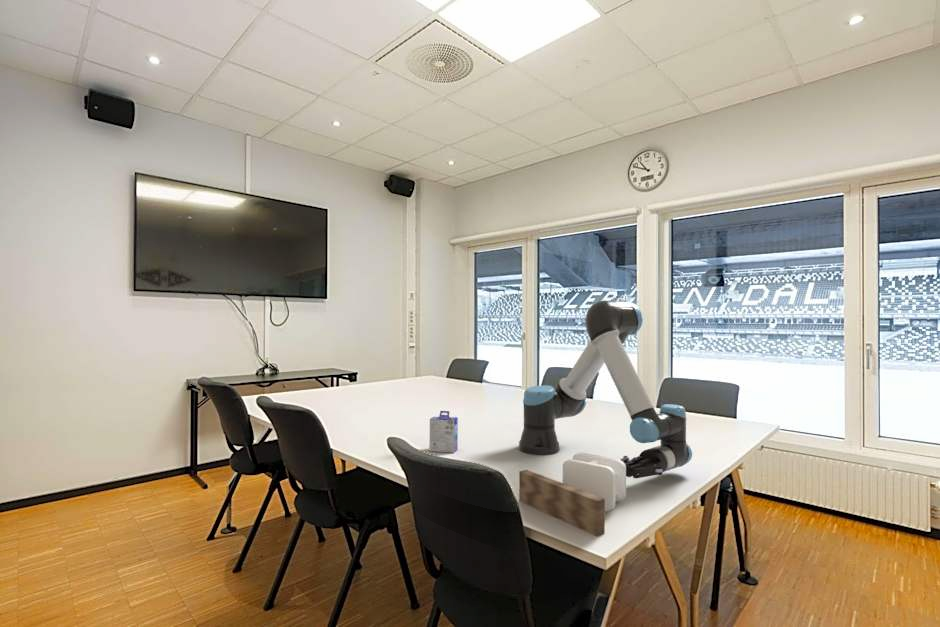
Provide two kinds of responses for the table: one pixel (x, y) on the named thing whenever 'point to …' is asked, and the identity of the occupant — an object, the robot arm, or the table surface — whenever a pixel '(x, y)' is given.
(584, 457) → the tooth protector case
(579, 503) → the walnut board
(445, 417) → the ink cartridge box
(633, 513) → the table surface
